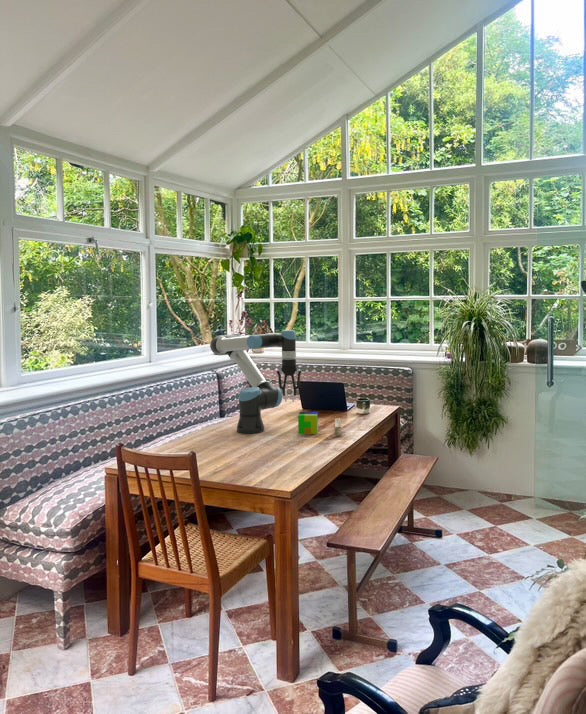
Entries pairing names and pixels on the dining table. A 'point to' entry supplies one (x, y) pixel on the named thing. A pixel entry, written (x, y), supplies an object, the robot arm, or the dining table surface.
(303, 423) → the puzzle toy
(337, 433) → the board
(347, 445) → the dining table surface
